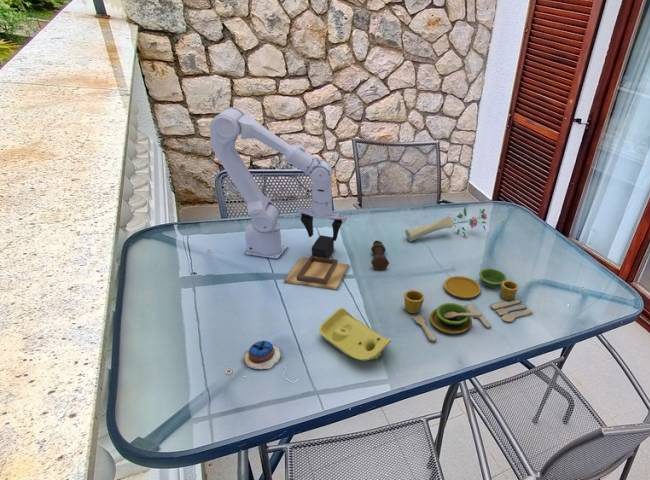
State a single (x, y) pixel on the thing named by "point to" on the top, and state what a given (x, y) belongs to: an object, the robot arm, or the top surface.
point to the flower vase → (441, 226)
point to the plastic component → (352, 336)
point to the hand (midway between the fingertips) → (323, 237)
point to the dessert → (262, 355)
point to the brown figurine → (379, 256)
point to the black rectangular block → (323, 247)
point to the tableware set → (456, 315)
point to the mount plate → (317, 272)
